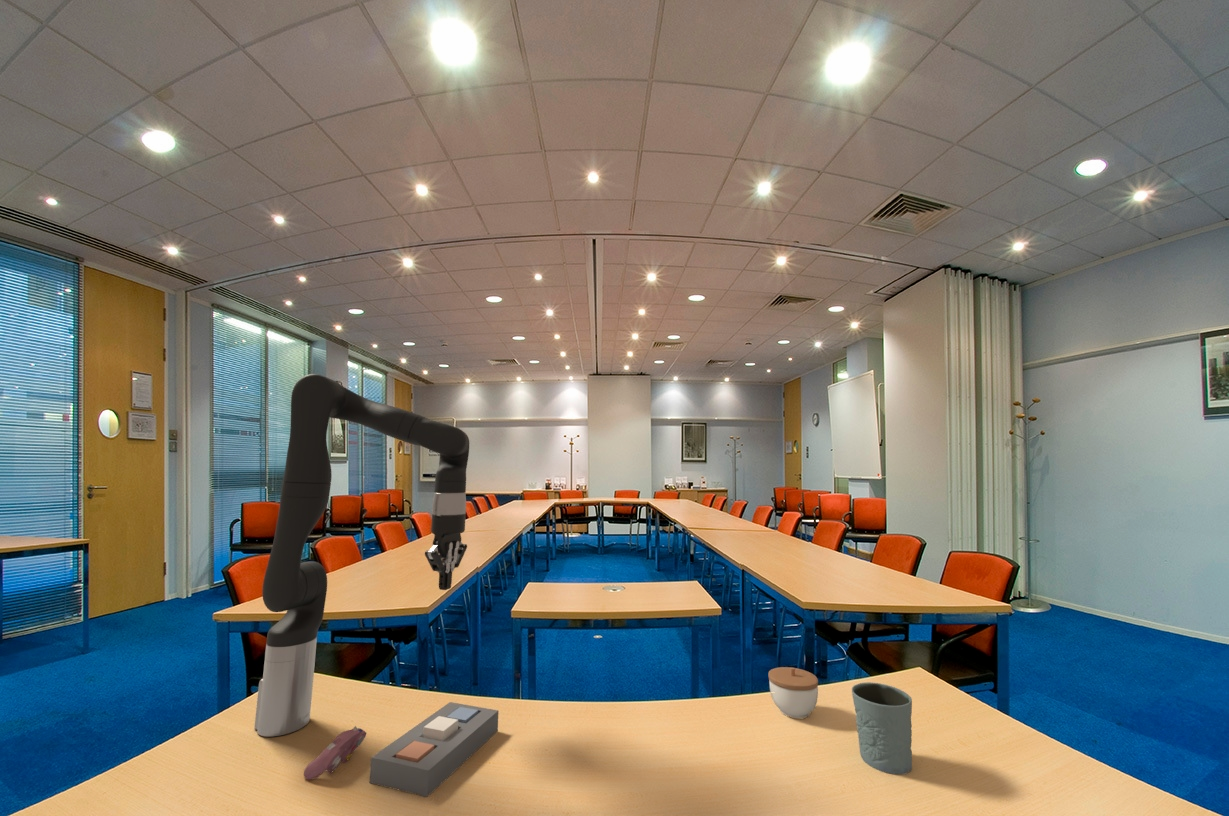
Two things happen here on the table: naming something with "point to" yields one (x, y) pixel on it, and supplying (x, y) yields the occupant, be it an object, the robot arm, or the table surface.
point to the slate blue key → (463, 714)
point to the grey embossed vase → (884, 726)
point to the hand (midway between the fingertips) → (444, 589)
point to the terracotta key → (415, 751)
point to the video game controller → (335, 753)
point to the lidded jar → (793, 691)
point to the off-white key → (440, 728)
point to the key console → (433, 753)
